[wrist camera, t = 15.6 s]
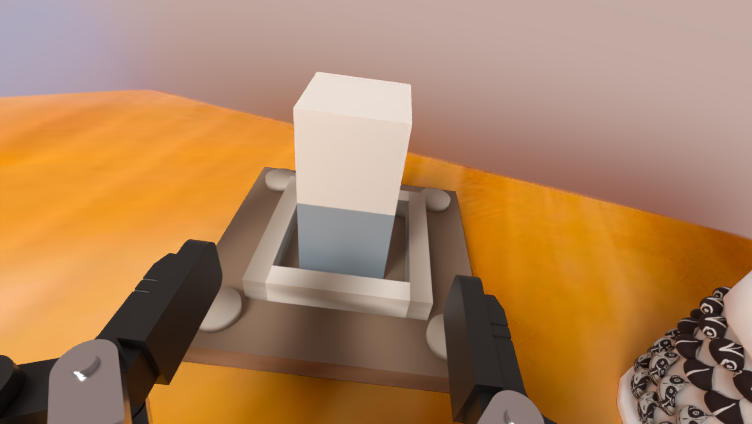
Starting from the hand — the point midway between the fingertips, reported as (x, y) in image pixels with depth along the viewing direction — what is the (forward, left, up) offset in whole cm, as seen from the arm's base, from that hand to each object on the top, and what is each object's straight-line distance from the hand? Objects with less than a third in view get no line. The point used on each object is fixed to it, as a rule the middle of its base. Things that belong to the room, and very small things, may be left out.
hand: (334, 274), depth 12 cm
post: (0, -9, -7) cm, 11 cm away
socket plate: (0, -9, -8) cm, 12 cm away
